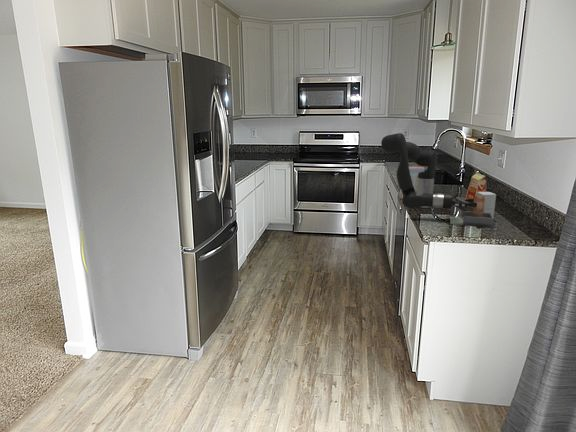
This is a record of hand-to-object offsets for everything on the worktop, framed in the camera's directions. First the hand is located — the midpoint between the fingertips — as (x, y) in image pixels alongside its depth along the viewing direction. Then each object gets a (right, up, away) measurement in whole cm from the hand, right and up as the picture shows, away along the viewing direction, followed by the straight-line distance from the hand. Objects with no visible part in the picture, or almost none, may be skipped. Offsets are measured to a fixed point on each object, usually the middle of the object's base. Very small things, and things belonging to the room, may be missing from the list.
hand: (476, 203), depth 209 cm
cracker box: (-16, +4, +59) cm, 62 cm away
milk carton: (+19, 0, +43) cm, 47 cm away
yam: (+1, -9, +2) cm, 9 cm away
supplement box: (+12, -6, +18) cm, 23 cm away
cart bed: (-1, -10, +3) cm, 10 cm away
